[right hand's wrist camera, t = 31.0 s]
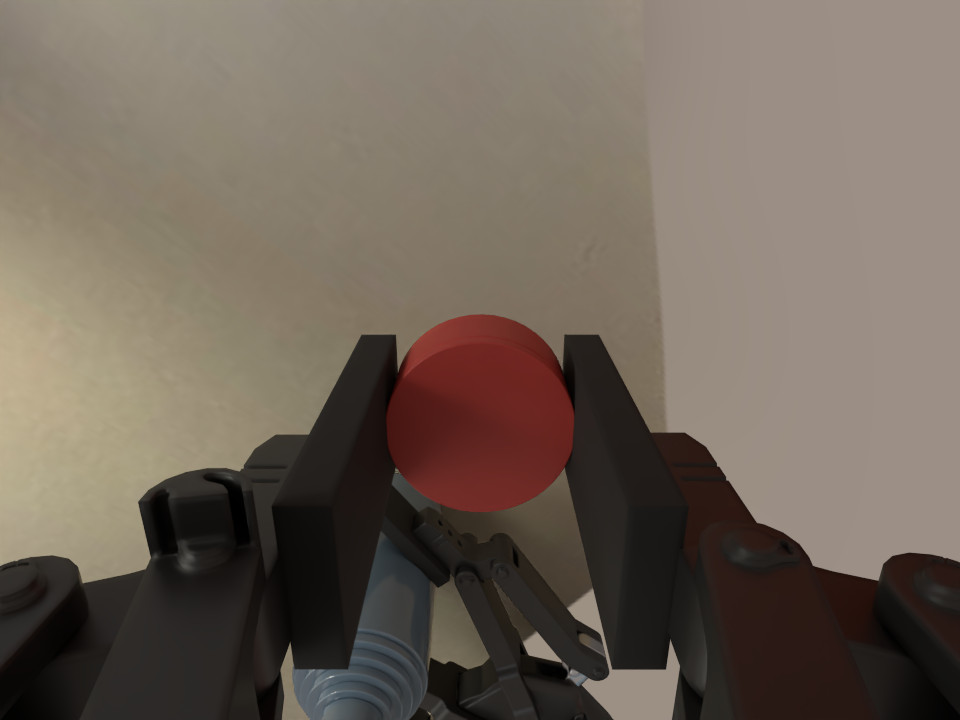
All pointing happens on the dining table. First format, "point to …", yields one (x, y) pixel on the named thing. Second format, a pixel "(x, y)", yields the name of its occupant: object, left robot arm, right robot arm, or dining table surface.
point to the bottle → (381, 641)
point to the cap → (480, 414)
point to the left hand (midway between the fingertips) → (313, 518)
